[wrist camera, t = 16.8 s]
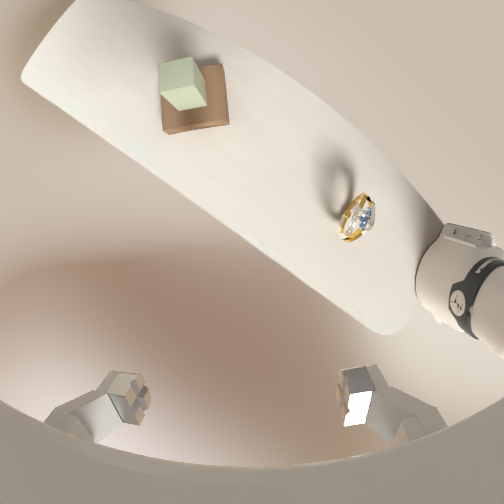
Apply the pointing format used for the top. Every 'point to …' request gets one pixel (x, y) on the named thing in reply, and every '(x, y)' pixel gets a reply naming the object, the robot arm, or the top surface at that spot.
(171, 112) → the plinth
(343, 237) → the ring
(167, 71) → the block
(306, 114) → the top surface
